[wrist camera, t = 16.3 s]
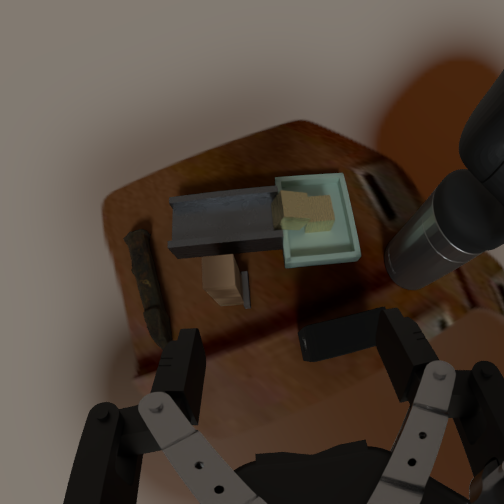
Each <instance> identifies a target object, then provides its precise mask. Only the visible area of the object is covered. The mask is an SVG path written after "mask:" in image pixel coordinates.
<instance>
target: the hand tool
mask: <svg viewBox="0 0 504 504" xmlns="http://www.w3.org/2000/svg"><path fill="white" fill-rule="evenodd" d="M150 236H151V234H149V232H147V231H146V230H144V229H139V230H136V231H133V232H129V233H128V235H127V236H126V237H124V241H125V242H126V244H127V245H128V247H129V251H130V256H131V260H132V273H133V274H134V275H135V277H136V281H137V285H138V289H139V292H140V296H141V300H142V303H143V307H144V311H145V312H144V313H143V314H144V318H145V321H146V323H147V328H148V330H149V333H150V335H151V337H152V339H153V340H154V341H155V342H156V344H157V345H158V346H159V347H161V348H162V349H164V348H165V346H166V345H167V344H168V343H169V342H170V341H172V337H171V329H170V321H169V317H168V315H167V313H166V311H165V307H164V304H163V299H162V295H161V291H160V286H159V282H158V280H157V275H156V270H155V265H154V260H153V258H152V254H151V250H150V246H149V238H150Z"/></svg>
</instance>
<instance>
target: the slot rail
mask: <svg viewBox="0 0 504 504" xmlns="http://www.w3.org/2000/svg"><path fill="white" fill-rule="evenodd" d="M277 195H278V187H277V186H266V187H255V188H245V189H235V190H226V191H217V192H209V193H200V194H192V195H184V196H177V197H169V204H170V205H171V207H172V209H173V226H172V241H168V249H169V250H170V251H171V252H172V253H173V254H174V255H175V256H176V257H177V258H178V259H181V258H192V257H203V256H214V255H225V254H235V253H246V252H257V251H268V250H279V249H283V240H284V235H283V230H282V229H274V227H273V218H272V210H271V203H272V202H273V200H274V199H275V197H276V196H277Z"/></svg>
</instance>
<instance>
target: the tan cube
mask: <svg viewBox="0 0 504 504" xmlns="http://www.w3.org/2000/svg"><path fill="white" fill-rule="evenodd" d="M308 201H309V207H310V213H311V220H310V221H309V222H308V223H307V224H305V225H304V231H305V233H313V232H324V231H331V229H332V226H333V224H334V222H335V216H334V211H333V206H332V201H331V197H330V195H323V196H310V197H308Z"/></svg>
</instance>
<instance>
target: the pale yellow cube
mask: <svg viewBox="0 0 504 504" xmlns="http://www.w3.org/2000/svg"><path fill="white" fill-rule="evenodd" d="M271 210H272V218H273V227H274V229H284V230H300V229H301V228H302V227H303V226H304V225H305V224H307V223H308V222H309V221H310V220H311V213H310V207H309V201H308V196H307V193H303V192H293V191H283V190H280V192H279V193H278V195H277V196H276V197H275V199H274V200H273V202H272V203H271Z"/></svg>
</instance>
